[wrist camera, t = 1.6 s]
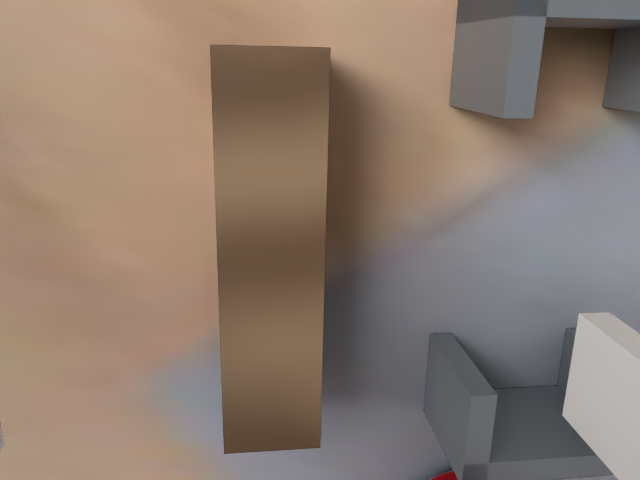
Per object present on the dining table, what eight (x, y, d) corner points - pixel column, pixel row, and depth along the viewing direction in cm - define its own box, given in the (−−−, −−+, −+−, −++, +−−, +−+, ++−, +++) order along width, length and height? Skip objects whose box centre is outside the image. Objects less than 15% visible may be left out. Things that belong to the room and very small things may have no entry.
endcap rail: (573, 402, 28) (640, 473, 23) (423, 411, 27) (461, 486, 22) (643, 2, 23) (749, -12, 18) (458, -5, 22) (518, -21, 17)
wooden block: (306, 376, 26) (320, 447, 21) (227, 380, 26) (224, 453, 21) (311, 49, 22) (330, 47, 17) (217, 46, 21) (210, 44, 17)
